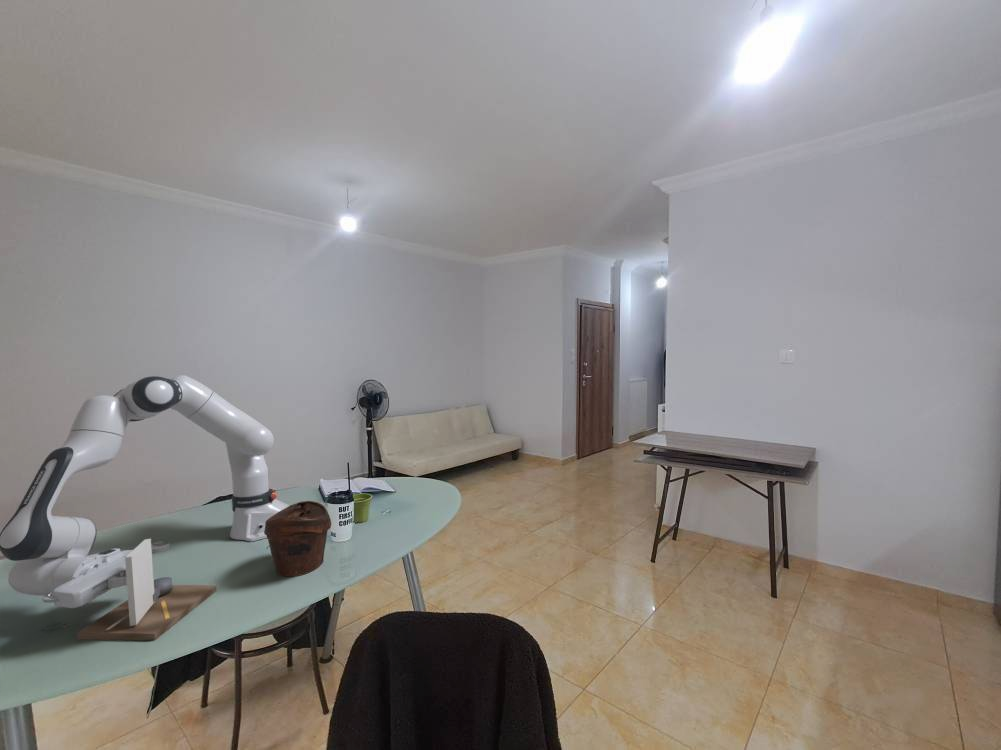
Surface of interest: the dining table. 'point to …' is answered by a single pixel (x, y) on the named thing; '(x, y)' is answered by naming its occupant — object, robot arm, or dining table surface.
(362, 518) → the plant pot
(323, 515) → the case
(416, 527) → the dining table surface
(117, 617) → the dial board
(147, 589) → the white upright panel
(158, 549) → the adjustable wrench
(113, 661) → the dining table surface
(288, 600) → the dining table surface
